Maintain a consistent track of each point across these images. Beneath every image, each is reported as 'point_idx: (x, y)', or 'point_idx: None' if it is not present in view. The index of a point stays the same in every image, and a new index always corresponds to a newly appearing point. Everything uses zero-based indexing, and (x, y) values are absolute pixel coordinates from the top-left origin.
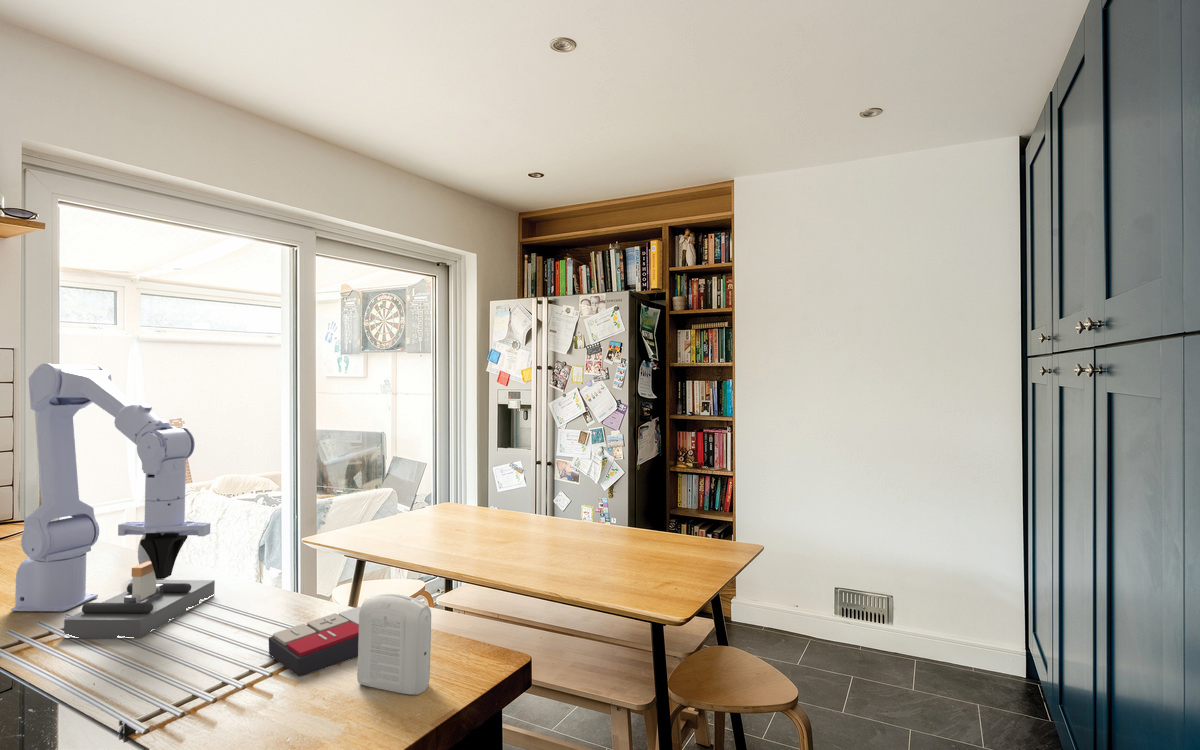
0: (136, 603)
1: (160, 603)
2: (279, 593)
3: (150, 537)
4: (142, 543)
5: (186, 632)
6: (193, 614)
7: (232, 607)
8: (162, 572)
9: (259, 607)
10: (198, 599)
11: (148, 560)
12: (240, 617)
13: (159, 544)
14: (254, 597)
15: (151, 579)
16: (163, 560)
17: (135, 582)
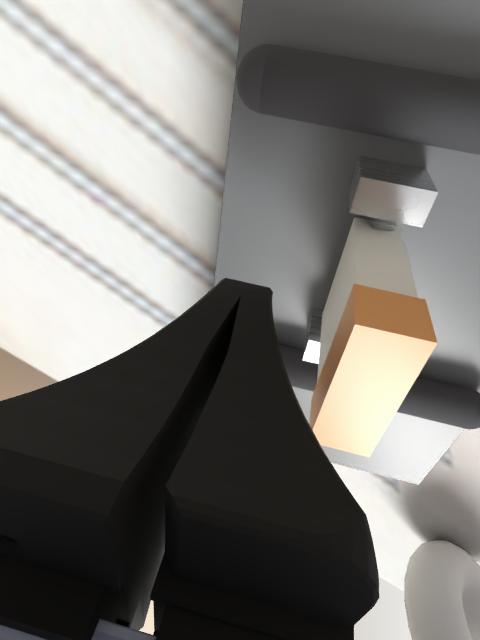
0: (330, 93)
1: (271, 225)
2: (42, 362)
3: (270, 625)
4: (326, 517)
5: (98, 21)
6: (191, 244)
7: (99, 283)
8: (213, 293)
9: (15, 264)
10: None
11: (474, 605)
12: (7, 179)
13: (89, 443)
14: (89, 350)
15: (328, 337)
16: (167, 337)
17: (393, 275)
